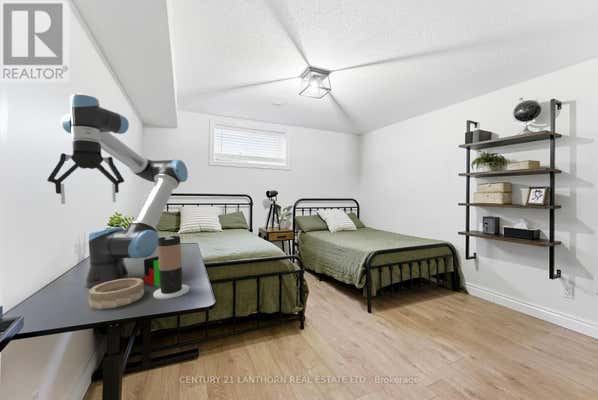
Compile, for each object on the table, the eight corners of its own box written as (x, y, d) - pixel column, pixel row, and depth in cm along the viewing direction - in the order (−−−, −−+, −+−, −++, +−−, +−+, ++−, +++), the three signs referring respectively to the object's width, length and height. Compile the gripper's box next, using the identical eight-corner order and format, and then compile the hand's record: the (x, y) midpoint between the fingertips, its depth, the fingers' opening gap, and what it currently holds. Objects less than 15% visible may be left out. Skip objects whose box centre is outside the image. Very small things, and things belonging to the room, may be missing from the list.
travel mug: (174, 294, 91) (171, 239, 90) (155, 293, 92) (152, 239, 91) (187, 286, 98) (184, 235, 97) (169, 285, 99) (167, 235, 99)
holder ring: (86, 300, 89) (85, 286, 89) (136, 287, 101) (135, 275, 101) (94, 313, 79) (93, 297, 79) (149, 297, 90) (148, 284, 90)
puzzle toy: (166, 275, 115) (165, 254, 115) (181, 278, 111) (180, 256, 110) (144, 283, 107) (143, 259, 106) (159, 286, 102) (158, 262, 102)
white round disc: (148, 293, 95) (148, 291, 95) (181, 284, 103) (181, 282, 103) (160, 302, 86) (160, 299, 86) (194, 291, 95) (194, 289, 95)
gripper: (34, 133, 75) (38, 204, 76) (132, 144, 93) (134, 201, 94) (34, 138, 80) (37, 204, 81) (126, 147, 99) (128, 201, 99)
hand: (89, 203), depth 87 cm, fingers open, 13 cm apart
